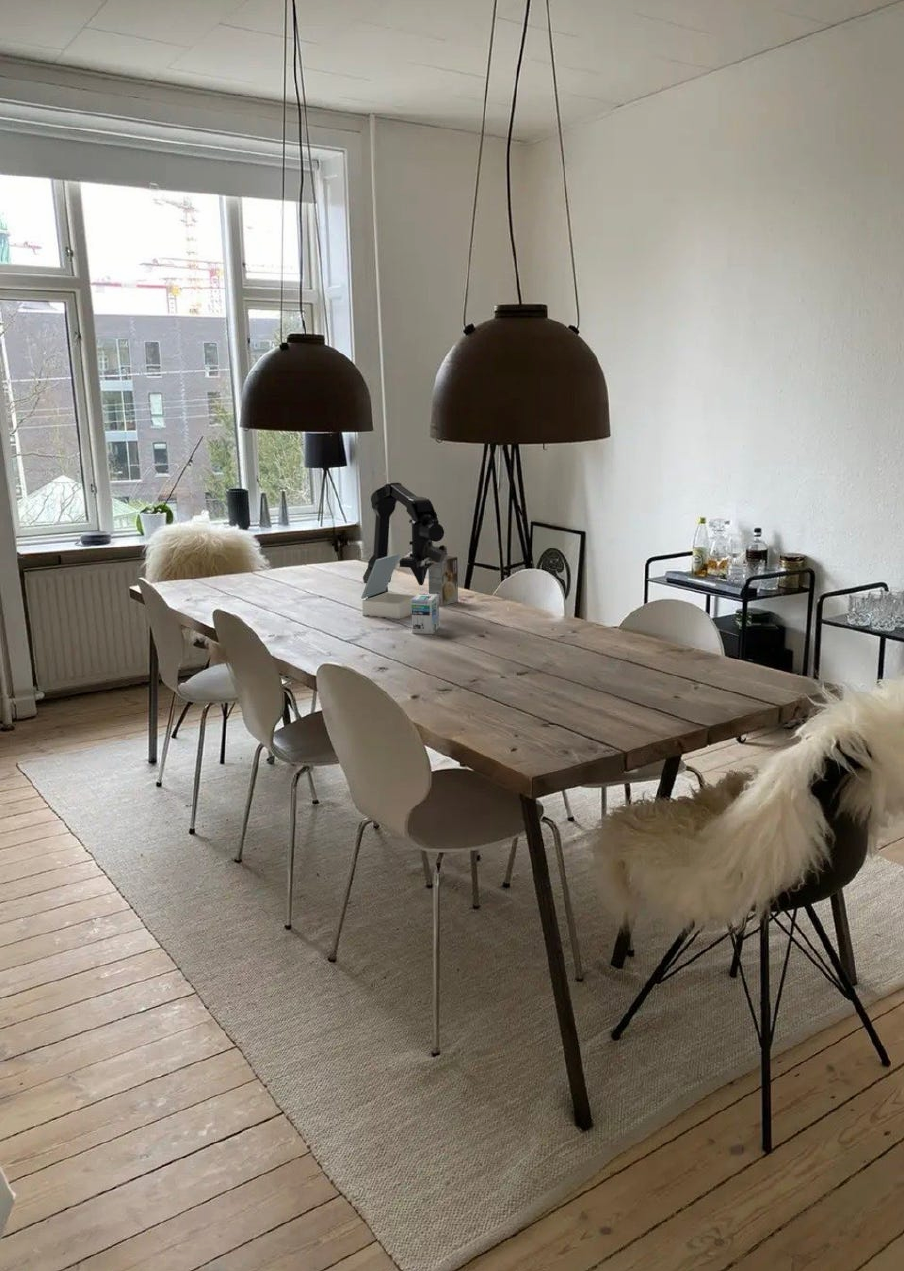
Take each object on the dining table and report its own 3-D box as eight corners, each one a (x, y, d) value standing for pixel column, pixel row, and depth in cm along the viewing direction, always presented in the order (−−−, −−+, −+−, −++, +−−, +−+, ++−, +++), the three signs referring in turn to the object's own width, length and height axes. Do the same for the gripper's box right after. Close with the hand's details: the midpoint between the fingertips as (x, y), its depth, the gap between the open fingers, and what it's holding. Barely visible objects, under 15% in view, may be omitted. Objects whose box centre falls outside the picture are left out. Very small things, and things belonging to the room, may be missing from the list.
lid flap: (362, 598, 327) (360, 597, 327) (385, 590, 340) (383, 590, 340) (377, 560, 321) (376, 559, 321) (400, 554, 334) (398, 553, 334)
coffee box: (444, 599, 353) (443, 555, 349) (458, 601, 349) (458, 556, 345) (428, 603, 346) (427, 558, 342) (442, 606, 342) (442, 560, 338)
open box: (362, 615, 327) (362, 600, 326) (386, 606, 341) (386, 592, 340) (399, 619, 321) (399, 604, 320) (422, 609, 335) (422, 595, 334)
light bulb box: (432, 634, 301) (432, 600, 298) (411, 633, 302) (410, 599, 299) (440, 626, 311) (439, 593, 308) (419, 626, 312) (418, 592, 310)
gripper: (429, 543, 309) (429, 592, 313) (455, 535, 325) (455, 582, 329) (398, 541, 314) (399, 589, 318) (425, 533, 330) (426, 579, 334)
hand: (421, 585), depth 324 cm, fingers closed
